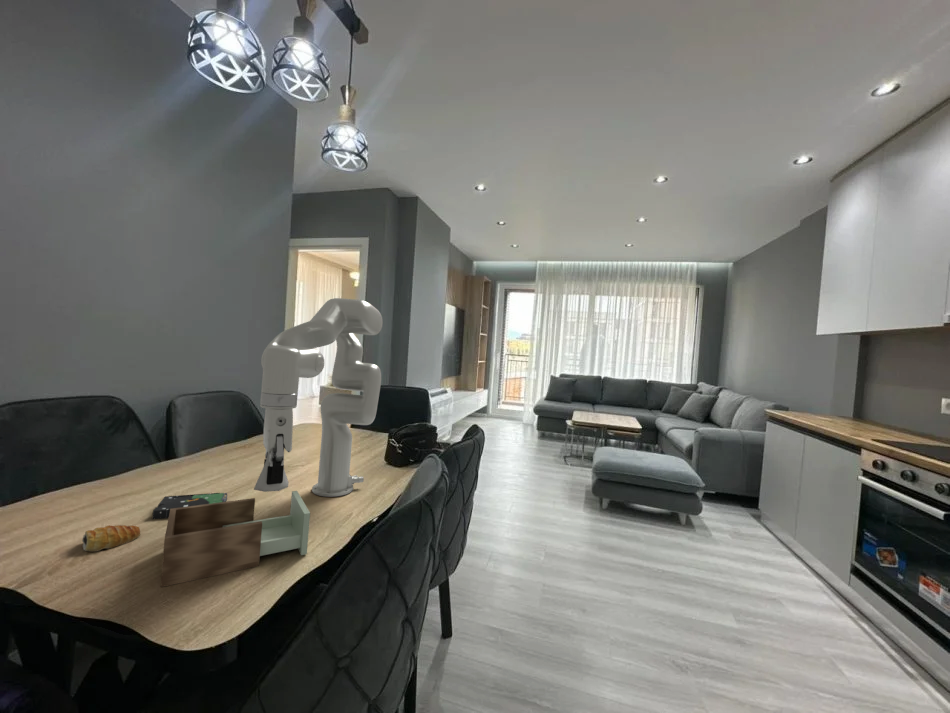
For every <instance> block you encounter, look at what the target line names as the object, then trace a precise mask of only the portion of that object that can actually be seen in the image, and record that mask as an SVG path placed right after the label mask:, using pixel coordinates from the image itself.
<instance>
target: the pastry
mask: <svg viewBox="0 0 950 713" xmlns="http://www.w3.org/2000/svg"><path fill="white" fill-rule="evenodd" d="M140 529H141V528H140V526H136V525H123V524H122V525H119V524H118V525H109V524H108V525H105V526H104V527H95V528H94V529H93V530H92V529H90V530H85V533H84V534H83V537H82V543H83V544H82V548H83V551H85V552H89V553H91V552H92V553H93V552H99V551H100V552H101V550H104V549H108V550H109V549H111V548H116V547H119V546H122V545H125V544H128V543H131V542H132V541H134V540H136V539H138V538H139V537H141V536H140V535H141V530H140Z"/></svg>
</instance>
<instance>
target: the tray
mask: <svg viewBox="0 0 950 713" xmlns="http://www.w3.org/2000/svg"><path fill="white" fill-rule="evenodd" d="M310 518H311V512H310V510H309V509H308V507H307V505H306V503H305V502H304V500H303V498H302V497H301V495H300V493H299V491H297V490H292V491H291V499H290V512H289V515H288V514H287V515H282V516H275V517H269V518H263V519H256V520H253V521H249V522H243V523H236V524H230V525H224V526H223V527H228V526H234V525H241V524H247V523H253V522H259V521H262V533H261V546H260V557H262V556H266V555H271V554H272V555H273V554H276V553H281V552H286V551H291V550H296V549H298V551H299V554H300V556H305V555H307V554H308V546H309V545H308V544H309V534H310V533H309V532H310V522H311V521H310V520H311V519H310Z"/></svg>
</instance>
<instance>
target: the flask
mask: <svg viewBox="0 0 950 713" xmlns="http://www.w3.org/2000/svg"><path fill="white" fill-rule="evenodd" d="M272 452H276V449H273V450H272ZM274 456H276V455H273V458H274ZM269 460H270V453H268V455H267V459H266V462H265V465H264V464H263V467H262V469H261V472H260V474H259V476H258V478H257V481H256V482H255V485H254V488H253V490H254V491H259V492H263V493H264V492H265V493H266V492H267V493H268V492H280V491H282V490H285V489H287V488H288V487H289V480H288V477H287V473H286V470H285V469H284V471H283V482H282V483H280V484H270V485H267V483H266V481H267V469H268V466H269Z"/></svg>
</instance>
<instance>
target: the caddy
mask: <svg viewBox="0 0 950 713" xmlns="http://www.w3.org/2000/svg"><path fill="white" fill-rule="evenodd" d="M255 505H256V498H255V497H253V498H252V497H251V498H245V499H238V500H230V501H229V500H228V501H226V502H220V503H212V504H204V505H196V506H188V507H181V508H173V509H170V513H169V518H167V524H166V529H165V535H164V541H163V550H162V551H163V553H162V565H161V579H160V580H161V581H160V588H163V587H167V586H168V587H169V586H172V585H177V584H181V583H186V582H191V581H196V580H200V579H205V578H208V577H214V576H219V575H223V574H228V573H233V572H237V571H238V572H239V571H241V570H246V569H252V568H256V567H259V566H260V557H261V556H260V546H261V533H262V521H259V522H253V523H247V524H241V525H234V526H228V527H223V526H224V525H230V524H236V523H243V522H249V521H255V520H254V518H255V517H254V516H255Z"/></svg>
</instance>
